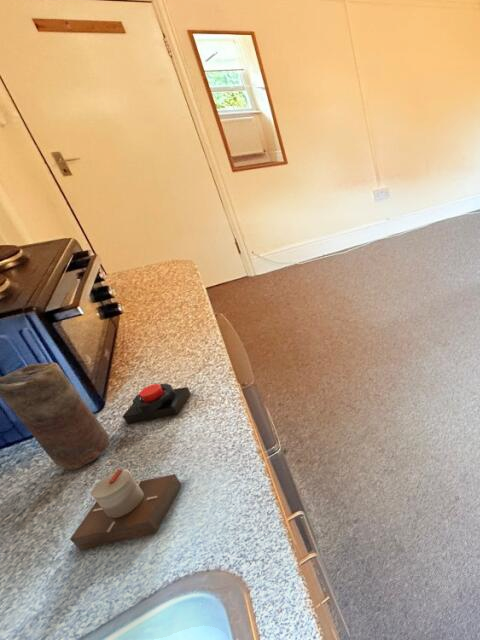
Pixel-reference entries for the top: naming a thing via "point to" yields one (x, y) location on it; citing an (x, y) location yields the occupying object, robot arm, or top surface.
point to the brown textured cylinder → (54, 414)
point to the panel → (129, 516)
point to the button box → (157, 405)
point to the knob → (118, 494)
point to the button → (151, 392)
